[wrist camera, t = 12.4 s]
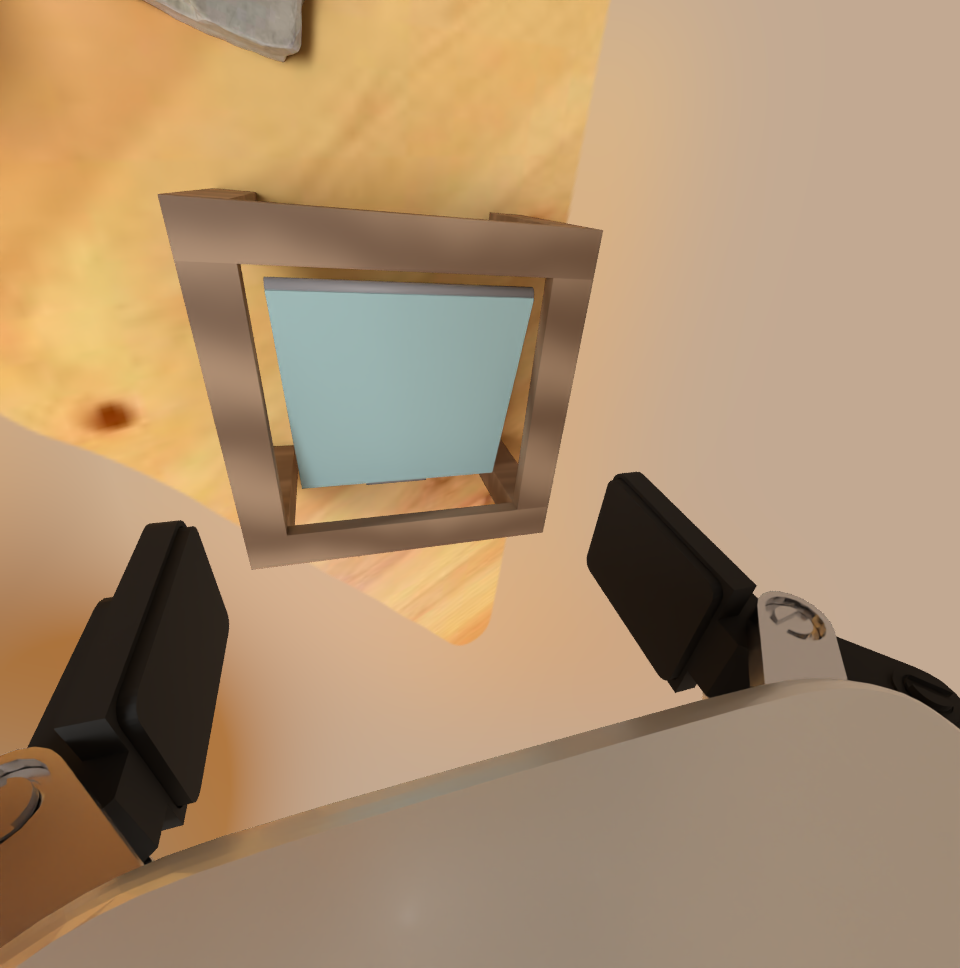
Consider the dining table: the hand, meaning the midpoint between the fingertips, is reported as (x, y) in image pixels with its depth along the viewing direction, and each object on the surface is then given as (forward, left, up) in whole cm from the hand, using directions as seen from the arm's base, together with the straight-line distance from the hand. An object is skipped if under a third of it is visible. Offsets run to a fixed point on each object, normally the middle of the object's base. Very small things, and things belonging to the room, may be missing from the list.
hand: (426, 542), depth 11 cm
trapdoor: (+4, +3, -20) cm, 20 cm away
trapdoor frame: (+5, +2, -30) cm, 30 cm away
